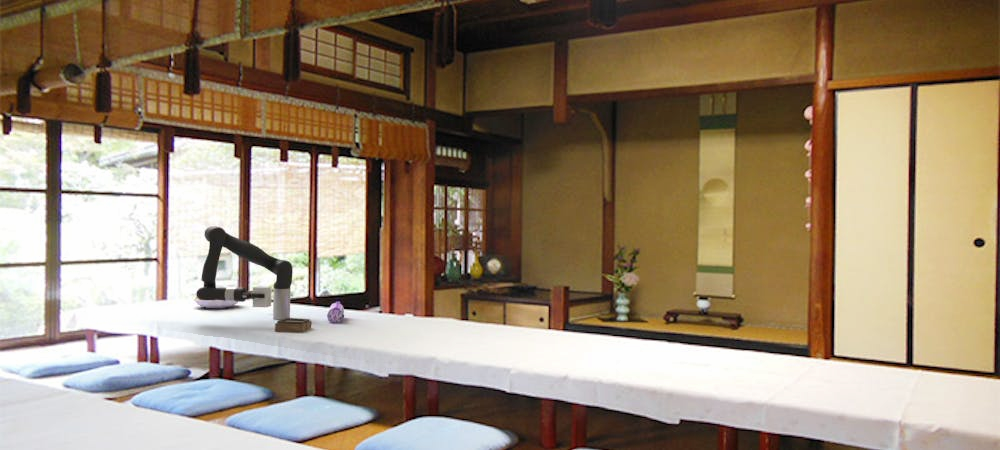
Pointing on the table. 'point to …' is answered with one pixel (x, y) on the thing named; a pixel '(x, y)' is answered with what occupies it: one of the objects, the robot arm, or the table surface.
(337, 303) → the pencil case
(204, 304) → the fruit bowl
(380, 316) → the table surface
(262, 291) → the small box
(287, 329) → the brown wooden tray
